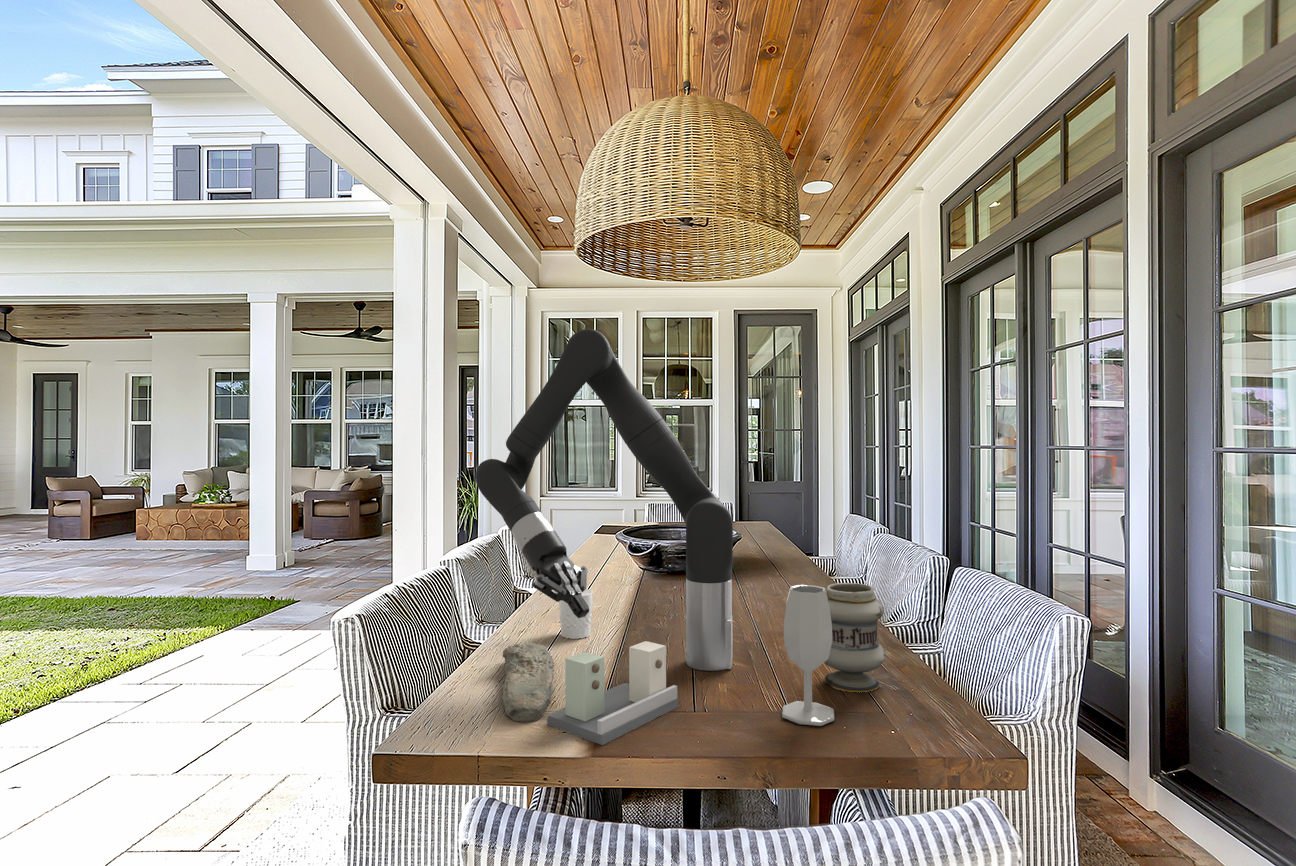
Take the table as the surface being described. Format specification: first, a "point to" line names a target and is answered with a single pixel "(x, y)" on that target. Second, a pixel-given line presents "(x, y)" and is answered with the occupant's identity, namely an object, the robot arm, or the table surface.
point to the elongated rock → (527, 681)
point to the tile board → (617, 714)
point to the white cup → (576, 619)
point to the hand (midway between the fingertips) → (584, 614)
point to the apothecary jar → (854, 637)
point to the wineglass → (808, 648)
